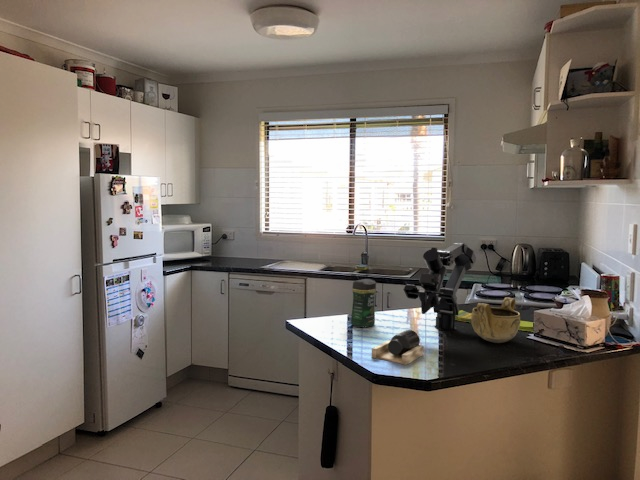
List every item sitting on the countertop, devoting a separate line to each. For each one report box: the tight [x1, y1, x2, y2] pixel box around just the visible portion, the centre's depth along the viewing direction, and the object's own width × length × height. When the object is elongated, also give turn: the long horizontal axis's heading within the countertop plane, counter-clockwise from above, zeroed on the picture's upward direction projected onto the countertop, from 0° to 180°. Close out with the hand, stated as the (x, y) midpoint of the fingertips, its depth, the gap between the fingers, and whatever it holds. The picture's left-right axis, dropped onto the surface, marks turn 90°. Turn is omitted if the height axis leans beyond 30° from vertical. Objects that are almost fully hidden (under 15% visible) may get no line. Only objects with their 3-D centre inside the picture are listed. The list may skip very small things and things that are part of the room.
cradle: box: [371, 339, 424, 366], centre depth 169 cm, size 13×12×3 cm
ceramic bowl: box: [471, 296, 521, 344], centre depth 189 cm, size 22×17×15 cm
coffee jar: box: [350, 278, 377, 328], centre depth 207 cm, size 10×8×19 cm
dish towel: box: [455, 309, 534, 332], centre depth 217 cm, size 15×36×3 cm, turn 54°
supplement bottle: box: [388, 329, 421, 356], centre depth 169 cm, size 7×7×12 cm
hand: (422, 313), depth 185 cm, fingers closed
